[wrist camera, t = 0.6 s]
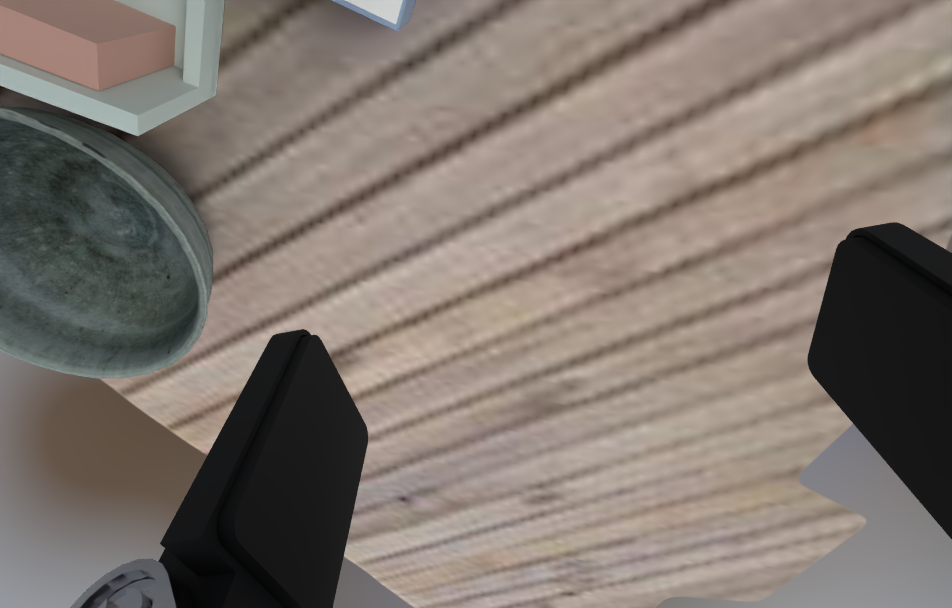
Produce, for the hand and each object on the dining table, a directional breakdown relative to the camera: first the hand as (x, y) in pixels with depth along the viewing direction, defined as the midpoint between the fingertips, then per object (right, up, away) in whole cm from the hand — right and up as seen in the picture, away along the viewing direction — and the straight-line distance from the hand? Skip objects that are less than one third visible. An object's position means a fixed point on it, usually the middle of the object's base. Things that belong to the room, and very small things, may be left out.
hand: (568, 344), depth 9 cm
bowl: (-31, +9, +31) cm, 45 cm away
